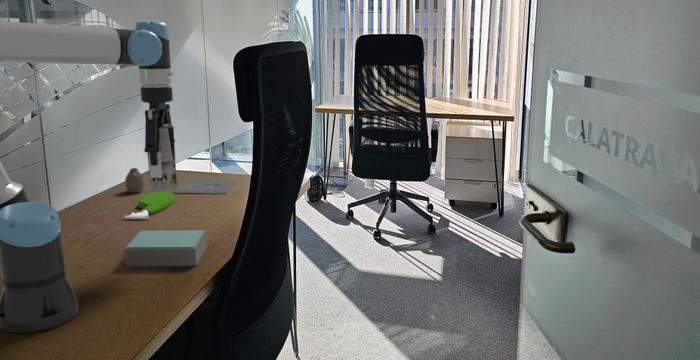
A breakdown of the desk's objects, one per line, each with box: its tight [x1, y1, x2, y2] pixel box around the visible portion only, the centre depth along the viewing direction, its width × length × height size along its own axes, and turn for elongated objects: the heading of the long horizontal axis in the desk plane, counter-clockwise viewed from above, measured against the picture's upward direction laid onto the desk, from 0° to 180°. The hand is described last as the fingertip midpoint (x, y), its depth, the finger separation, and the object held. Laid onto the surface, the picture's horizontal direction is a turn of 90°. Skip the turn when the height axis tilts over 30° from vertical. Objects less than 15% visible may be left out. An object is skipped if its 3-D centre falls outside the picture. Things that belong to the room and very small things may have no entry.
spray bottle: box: [124, 191, 176, 220], centre depth 200 cm, size 3×11×24 cm
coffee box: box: [144, 123, 178, 192], centre depth 152 cm, size 9×6×16 cm
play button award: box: [172, 179, 236, 195], centre depth 227 cm, size 16×2×20 cm
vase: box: [124, 167, 146, 194], centre depth 220 cm, size 7×7×9 cm
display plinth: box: [123, 229, 208, 267], centre depth 158 cm, size 14×18×5 cm
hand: (162, 172), depth 153 cm, fingers closed on coffee box, 10 cm apart
